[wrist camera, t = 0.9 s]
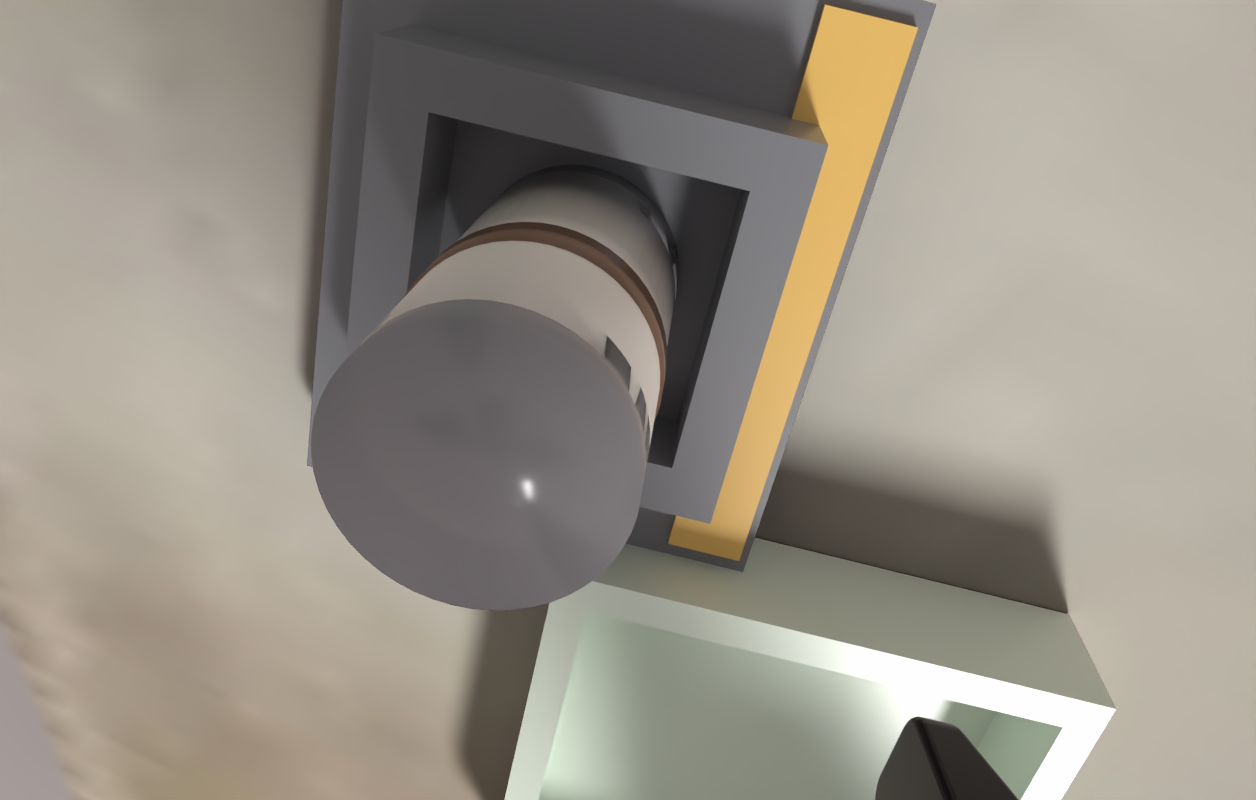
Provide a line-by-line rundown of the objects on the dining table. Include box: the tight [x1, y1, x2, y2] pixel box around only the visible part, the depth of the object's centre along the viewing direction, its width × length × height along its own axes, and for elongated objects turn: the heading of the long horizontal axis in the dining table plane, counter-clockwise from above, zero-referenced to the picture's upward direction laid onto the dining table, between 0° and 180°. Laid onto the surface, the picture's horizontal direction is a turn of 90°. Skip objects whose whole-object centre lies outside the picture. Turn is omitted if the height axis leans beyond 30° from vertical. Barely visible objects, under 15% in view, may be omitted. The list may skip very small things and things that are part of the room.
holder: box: [307, 0, 936, 572], centre depth 18 cm, size 12×10×4 cm
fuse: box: [311, 165, 679, 611], centre depth 15 cm, size 4×4×8 cm
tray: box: [504, 538, 1116, 800], centre depth 24 cm, size 12×12×3 cm
